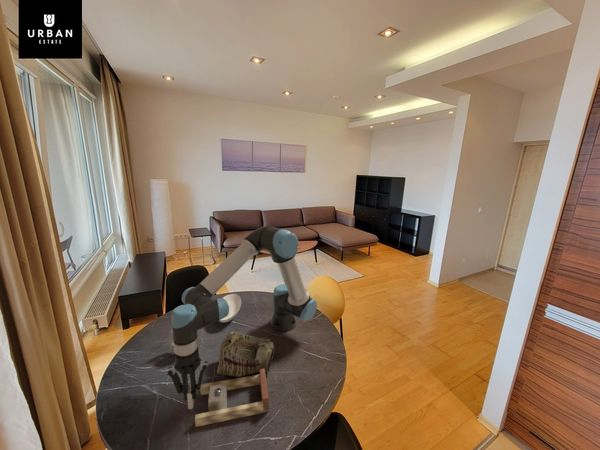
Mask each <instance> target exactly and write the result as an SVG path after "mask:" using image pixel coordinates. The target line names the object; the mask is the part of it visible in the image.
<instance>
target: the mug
mask: <svg viewBox="0 0 600 450" xmlns="http://www.w3.org/2000/svg"><path fill="white" fill-rule="evenodd" d="M168 347H169V348H170V350H171V351H174V342H173V332H172V329H171V330H170V334H169V339H168Z"/></svg>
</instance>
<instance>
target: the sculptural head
mask: <svg viewBox="0 0 600 450" xmlns="http://www.w3.org/2000/svg"><path fill="white" fill-rule="evenodd" d="M225 336H226V338H225V339H223V341H222V343H221V344H220V349H219V359H218V360H219V362H218V367H217V369H216V373H217V375H222V376H231V377H235V378H242V377H246V376H253V375H255V374H257V373H260V369H264V368H265V373H269V372H270V366H271V363H272V360H273V359H274V353H275V347H274V342H272V340H271V339H268V338H267V339H266V338H264V337H262V338H260V337H257V336H253V335H249V334H243V333H239V332H237V331H231V332H229V333H228V334H226V335H225Z"/></svg>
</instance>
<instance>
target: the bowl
mask: <svg viewBox="0 0 600 450" xmlns="http://www.w3.org/2000/svg"><path fill="white" fill-rule="evenodd" d="M222 298H224V299H225V300H226V301H227V303H228V305H229V314H228V316H227V317H225V318H223V319H221V320H220V321H218V322H219V323H228V322H230V321H232V320H233V319H234V318H235V317H236V316H237V314H238V313H239V311H240V309H241V307H242V299H241V296H240V295H239V294H236V293H231V294H227V295H225V296H223V297H222Z"/></svg>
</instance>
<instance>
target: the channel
mask: <svg viewBox="0 0 600 450" xmlns="http://www.w3.org/2000/svg"><path fill="white" fill-rule="evenodd" d="M226 383H227V391H232V390H233V391H234V390H237V389H242V388H243V389H244V388H247V387H253V386H258V385H259V386H260V388H259V389H260V397H261V400H260V401H256V402H251V403H247V404H242V405H237V406H231V407H227V408H226V409H221V410H216V411H211V412H209V411H207V412H202V413H197V414H195V416H194V424H195V428H198V427H204V426H206V425H210V424H212V425H213V424H217V423H221V422H225V421H230V420H236V419H241V418H245V417H250V416H254V415H259V414H263V413H268V412H269V411H270V409H269V408H270V407H269V405H270V404H269V403H270V401H269V397H270V396H269V391H268V384H267V377H266V372H265V368H264V369H260V372H259V374H253V375H247V376H241V377H235V378H232V379H225V380H219V381H214V382H209V383H203V384H202V383H201V387H200V390H199V391H200V396H204V395H209V393H210V386H214V385H220V384H226Z"/></svg>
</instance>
